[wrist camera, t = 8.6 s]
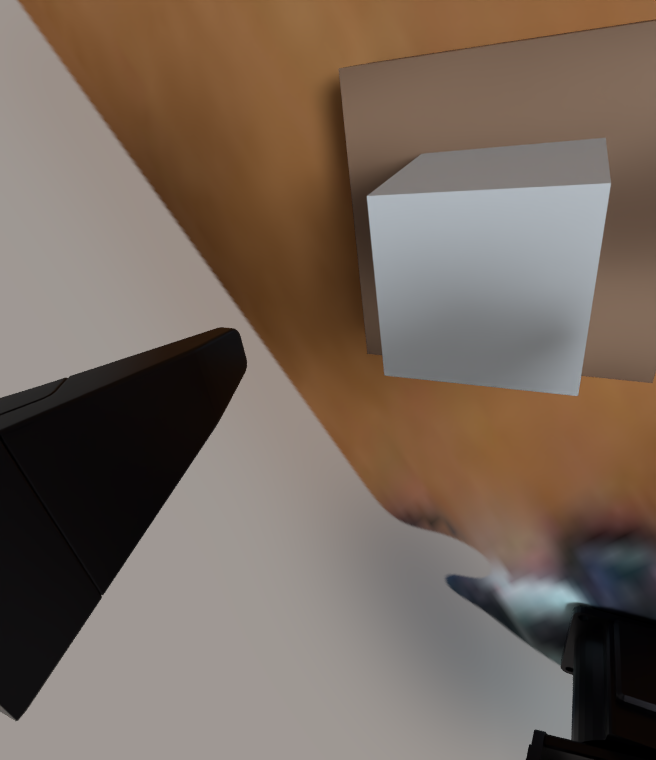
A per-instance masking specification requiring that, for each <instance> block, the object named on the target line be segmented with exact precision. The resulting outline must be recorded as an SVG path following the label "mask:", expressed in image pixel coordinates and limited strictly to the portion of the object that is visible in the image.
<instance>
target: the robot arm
mask: <svg viewBox="0 0 656 760" xmlns="http://www.w3.org/2000/svg"><path fill="white" fill-rule="evenodd" d="M246 368H247V360H246V356H245V352H244V348H243V344H242V340H241V336H240V334H239V332H238V331H237V330H236V329H232V328H223V327H221V328H216V329H213V330H210V331H207V332H204V333H201V334H198V335H195V336H192V337H189V338H186V339H182V340H180V341H177V342H173V343H170V344H167V345H164V346H161V347H158V348H155V349H152V350H149V351H146V352H143V353H140V354H137V355H134V356H130V357H127V358H124V359H121V360H118V361H115V362H112V363H109V364H106V365H103V366H100V367H97V368H94V369H91V370H88V371H84V372H82V373H78V374H75V375H72V376H70V377H69V378H63V379H60V380H57V381H54V382H51V383H47V384H44V385H42V386H38V387H35V388H32V389H28V390H25V391H22V392H19V393H15V394H12V395H9V396H5V397H2V398H0V711H1V712H2V713H4V714H5V715H7V716H8V717H10V718H12V719H14V720H15V721H18V720H19V719H20V717H21V716H22V715H23V714H24V713H25V711H26V710H27V709H28V707H29V706H30V704H31V703H32V701H33V700H34V698H35V697H36V695H37V694H38V692H39V691H40V690H41V688H42V687H43V685H44V683H45V682H46V681H47V679H48V678H49V676H50V674H51V673H52V672H53V670H54V669H55V667H56V666H57V664H58V663H59V661H60V660H61V658H62V657H63V655H64V653H65V652H66V651H67V649H68V648H69V646H70V644H71V643H72V642H73V640H74V639H75V637H76V636H77V634H78V633H79V631H80V630H81V628H82V627H83V625H84V624H85V622H86V621H87V619H88V618H89V616H90V615H91V613H92V612H93V610H94V608H95V607H96V606H97V604H98V603H99V601H100V600H101V598H102V596H101V595H103V594H104V593H105V592H106V590H107V589H108V587H109V585H110V584H111V583H112V581H113V579H114V578H115V577H116V575H117V573H118V572H119V571H120V569H121V568H122V566H123V565H124V563H125V562H126V560H127V558H128V557H129V556H130V554H131V553H132V551H133V550H134V548H135V547H136V545H137V544H138V542H139V540H140V539H141V538H142V536H143V535H144V533H145V532H146V530H147V529H148V527H149V526H150V524H151V523H152V521H153V520H154V518H155V517H156V515H157V514H158V512H159V511H160V509H161V508H162V506H163V505H164V503H165V502H166V500H167V499H168V498H169V496H170V495H171V493H172V492H173V490H174V489H175V487H176V486H177V484H178V483H179V481H180V480H181V478H182V477H183V475H184V474H185V472H186V471H187V469H188V468H189V466H190V464H191V463H192V462H193V460H194V458H195V457H196V456H197V454H198V453H199V451H200V450H201V448H202V447H203V445H204V444H205V442H206V441H207V439H208V437H209V436H210V435H211V433H212V432H213V430H214V429H215V427H216V425H217V424H218V422H219V420H220V419H221V417H222V415H223V413H224V411H225V409H226V408H227V406H228V404H229V402H230V400H231V398H232V396H233V394H234V392H235V391H236V389H237V387H238V385H239V383H240V381H241V379H242V377H243V375H244V374H245V371H246ZM561 669H562V670H563V671H565V672H566V673H569V674H572V675H573V701H572V703H573V704H572V736H571V737H572V738H571V740H569V739H564V738H560V737H556V736H552V735H548V734H547V733H546V732H544V731H539V730H534V734H533V739H532V744H530V745H529V748H528V753H527V758H526V760H656V626H654V625H650V624H646V623H643V622H639V621H635V620H632V619H628V618H624V617H621V616H617V615H613V614H610V613H606V612H602V611H599V610H595V609H591V608H588V607H584V606H577V607H575V608H574V609H573V613H572V617H571V622H570V626H569V630H568V634H567V638H566V642H565V646H564V651H563V655H562V659H561Z"/></svg>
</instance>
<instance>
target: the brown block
mask: <svg viewBox="0 0 656 760" xmlns="http://www.w3.org/2000/svg"><path fill="white" fill-rule="evenodd" d="M339 77H340V87H341V97H342V107H343V116H344V126H345V136H346V146H347V156H348V166H349V176H350V186H351V196H352V206H353V215H354V225H355V235H356V245H357V255H358V265H359V275H360V285H361V295H362V305H363V314H364V324H365V334H366V344H367V354H375V355H382V345H381V335H380V325H379V315H378V305H377V295H376V284H375V274H374V264H373V254H372V244H371V234H370V224H369V214H368V204H367V195H369V194H370V193H371V192H373V191H374V190H375V189H377V188H378V187H379V186H380V185H382V184H383V183H384V182H386V181H387V180H388V179H390V178H391V177H392V176H393V175H395V174H396V173H397V172H399V171H400V170H401V169H403V168H404V167H405V166H406V165H408V164H409V163H410V162H412V161H413V160H414V159H415V158H417V157H418V156H419V155H421V154H424V153H435V152H447V151H458V150H470V149H481V148H493V147H505V146H516V145H528V144H539V143H551V142H562V141H574V140H586V139H597V138H606V145H607V153H608V162H609V170H610V178H611V187H610V193H609V200H608V206H607V212H606V219H605V225H604V232H603V238H602V245H601V251H600V258H599V264H598V270H597V277H596V283H595V290H594V296H593V303H592V309H591V315H590V322H589V328H588V335H587V341H586V348H585V354H584V360H583V367H582V373H581V376H589V377H599V378H608V379H618V380H628V381H637V382H647V383H653V379H654V376H655V372H656V20H649V21H643V22H636V23H629V24H623V25H616V26H610V27H603V28H596V29H590V30H583V31H577V32H570V33H564V34H557V35H550V36H544V37H537V38H531V39H524V40H517V41H511V42H504V43H498V44H491V45H484V46H478V47H471V48H465V49H458V50H452V51H445V52H438V53H432V54H425V55H419V56H412V57H405V58H399V59H392V60H386V61H379V62H372V63H367V64H361V65H356V66H350V67H345V68H339Z"/></svg>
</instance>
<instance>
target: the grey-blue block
mask: <svg viewBox="0 0 656 760" xmlns="http://www.w3.org/2000/svg"><path fill="white" fill-rule="evenodd" d="M610 187H611V178H610V170H609V162H608V153H607V145H606V138H597V139H586V140H574V141H562V142H551V143H539V144H528V145H516V146H505V147H493V148H481V149H470V150H458V151H447V152H435V153H424V154H421V155H419V156H418V157H417V158H415V159H414V160H413V161H412V162H410V163H409V164H408V165H406V166H405V167H404V168H403V169H401V170H400V171H399V172H397V173H396V174H395V175H393V176H392V177H391V178H390V179H388V180H387V181H386V182H384V183H383V184H382V185H380V186H379V187H378V188H377V189H375V190H374V191H373V192H371V193H370V194H369V195H367V204H368V214H369V224H370V234H371V244H372V254H373V264H374V274H375V284H376V295H377V305H378V315H379V325H380V335H381V345H382V355H383V365H384V375H385V376H395V377H404V378H413V379H423V380H432V381H442V382H451V383H460V384H470V385H479V386H489V387H498V388H507V389H517V390H526V391H535V392H545V393H554V394H564V395H573V396H578V393H579V386H580V380H581V373H582V367H583V360H584V354H585V348H586V341H587V335H588V328H589V322H590V315H591V309H592V303H593V296H594V290H595V283H596V277H597V270H598V264H599V258H600V251H601V245H602V238H603V232H604V225H605V219H606V212H607V206H608V200H609V193H610Z"/></svg>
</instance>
